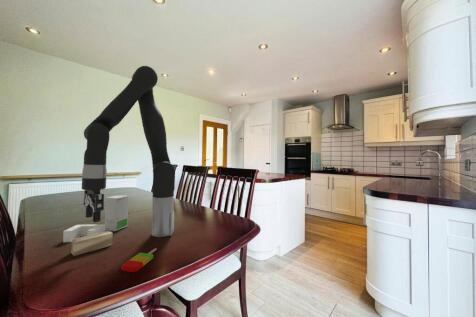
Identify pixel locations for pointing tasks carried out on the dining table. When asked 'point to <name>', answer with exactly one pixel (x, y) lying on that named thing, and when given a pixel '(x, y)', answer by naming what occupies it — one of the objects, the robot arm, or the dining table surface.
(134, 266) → the popsicle
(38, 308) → the dining table surface
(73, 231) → the end cap
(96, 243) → the beige wooden block
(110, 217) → the skincare box
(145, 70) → the robot arm
